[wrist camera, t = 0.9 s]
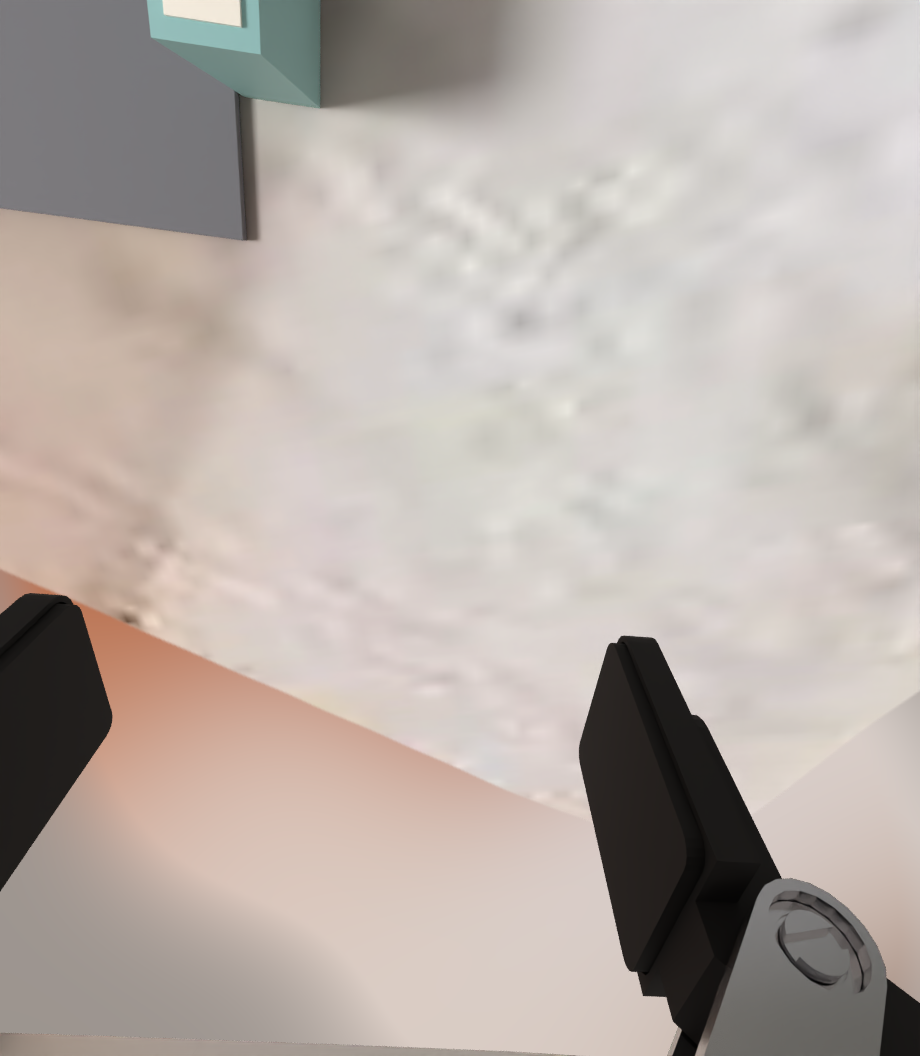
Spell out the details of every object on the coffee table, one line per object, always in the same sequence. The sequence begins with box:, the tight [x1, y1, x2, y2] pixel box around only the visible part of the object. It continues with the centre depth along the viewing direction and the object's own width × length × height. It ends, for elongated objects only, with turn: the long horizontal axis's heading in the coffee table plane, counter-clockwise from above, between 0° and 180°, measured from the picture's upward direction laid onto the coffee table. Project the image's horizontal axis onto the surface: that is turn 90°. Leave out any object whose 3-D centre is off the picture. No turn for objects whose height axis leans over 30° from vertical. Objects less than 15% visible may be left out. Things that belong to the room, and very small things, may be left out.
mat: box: [0, 0, 247, 240], centre depth 24 cm, size 14×18×1 cm
